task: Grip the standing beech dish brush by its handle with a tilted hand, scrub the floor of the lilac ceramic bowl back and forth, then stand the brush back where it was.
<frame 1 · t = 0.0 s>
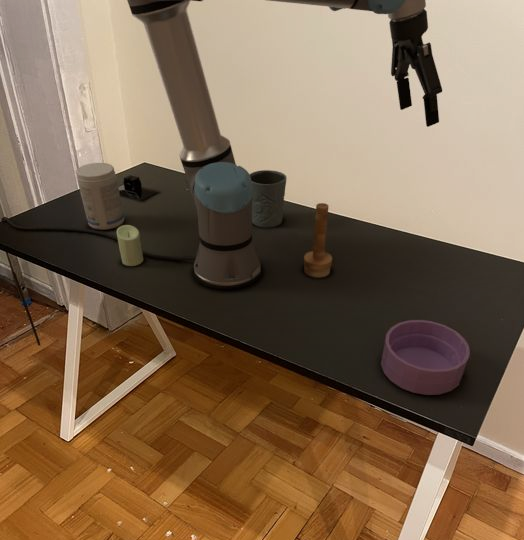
hand: (418, 115, 121), 28 cm above the table, tool tilted 20°, fingers open, 13 cm apart
dish brush: (317, 270, 121), on the table
supplement tub: (106, 223, 139), on the table
candle: (132, 261, 124), on the table
black stepped block: (133, 193, 155), on the table
lilac bowl: (420, 369, 94), on the table
grey green cup: (266, 220, 141), on the table
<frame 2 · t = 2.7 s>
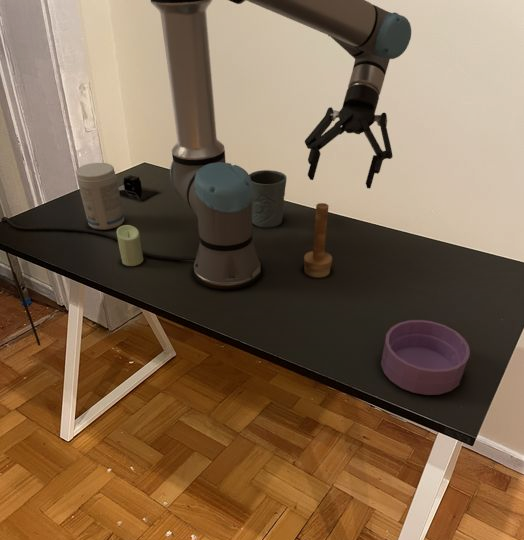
hand: (338, 181, 118), 17 cm above the table, tool tilted 45°, fingers open, 13 cm apart
nothing on the table moved.
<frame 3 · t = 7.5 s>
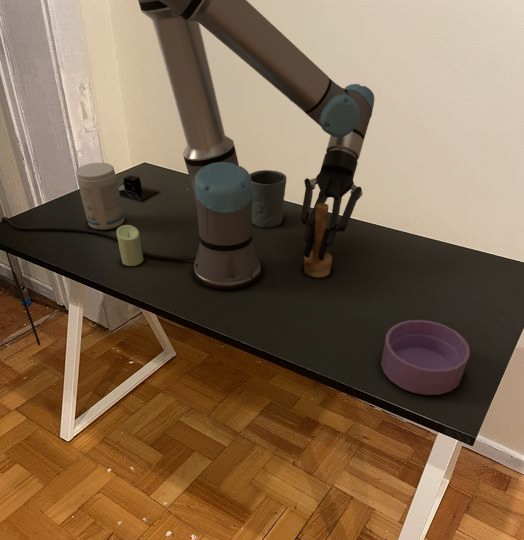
hand: (313, 257, 115), 6 cm above the table, tool tilted 45°, fingers closed on dish brush, 3 cm apart
dish brush: (317, 270, 121), on the table, touching gripper
everything else where it was.
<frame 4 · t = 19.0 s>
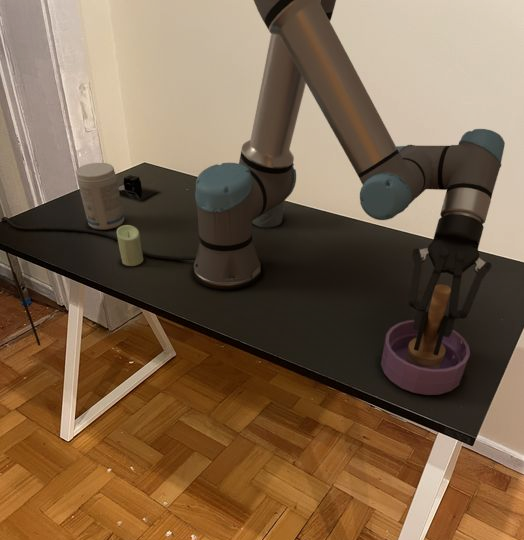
hand: (426, 351, 89), 6 cm above the table, tool tilted 45°, fingers closed on dish brush, 3 cm apart
dish brush: (423, 362, 95), point 1 cm above the table, touching gripper
everything else where it was.
when the fingers open (6 cm above the table, at t = 30.4 s): dish brush stays where it is, on the table.
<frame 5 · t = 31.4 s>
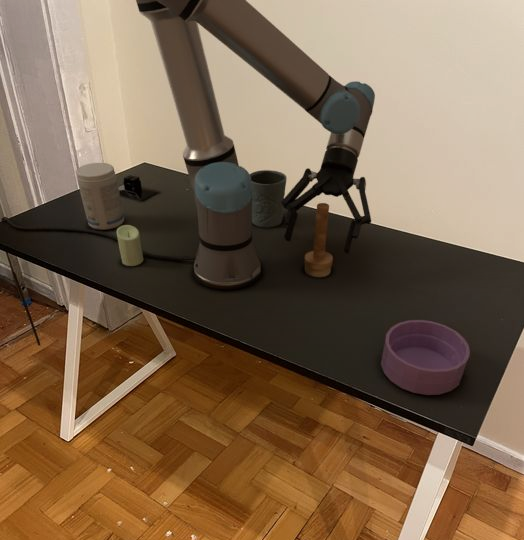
hand: (316, 245, 114), 8 cm above the table, tool tilted 45°, fingers open, 13 cm apart
dish brush: (317, 270, 121), on the table
everything else where it was.
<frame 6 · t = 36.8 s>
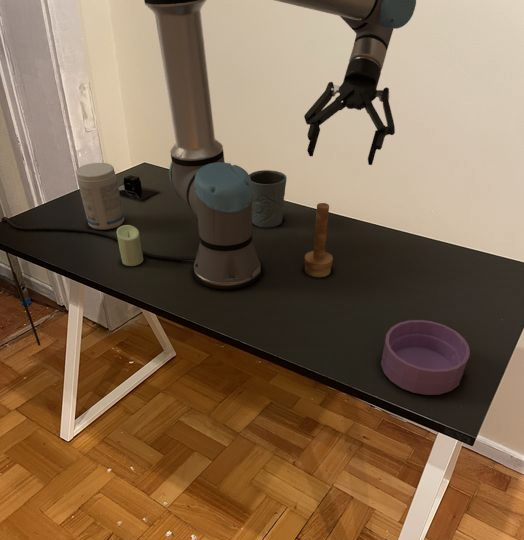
hand: (339, 157, 114), 23 cm above the table, tool tilted 45°, fingers open, 13 cm apart
nothing on the table moved.
at the end: dish brush inside the target area (0.2 cm from its centre), on the table; dish brush tilted 0°; lilac bowl moved 0.0 cm from its start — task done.
